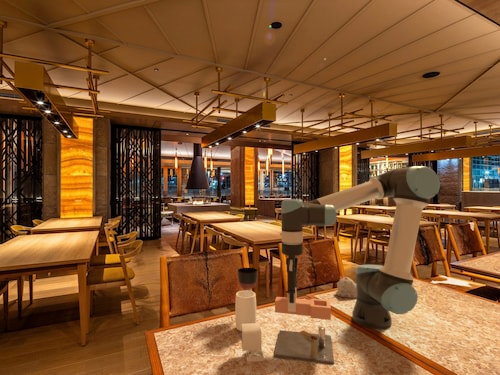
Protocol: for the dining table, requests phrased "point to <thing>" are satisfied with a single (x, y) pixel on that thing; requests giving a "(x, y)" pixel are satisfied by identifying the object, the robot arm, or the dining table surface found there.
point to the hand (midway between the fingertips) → (292, 308)
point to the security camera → (252, 341)
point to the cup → (245, 308)
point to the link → (305, 307)
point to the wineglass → (247, 278)
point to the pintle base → (305, 346)
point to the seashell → (346, 288)
